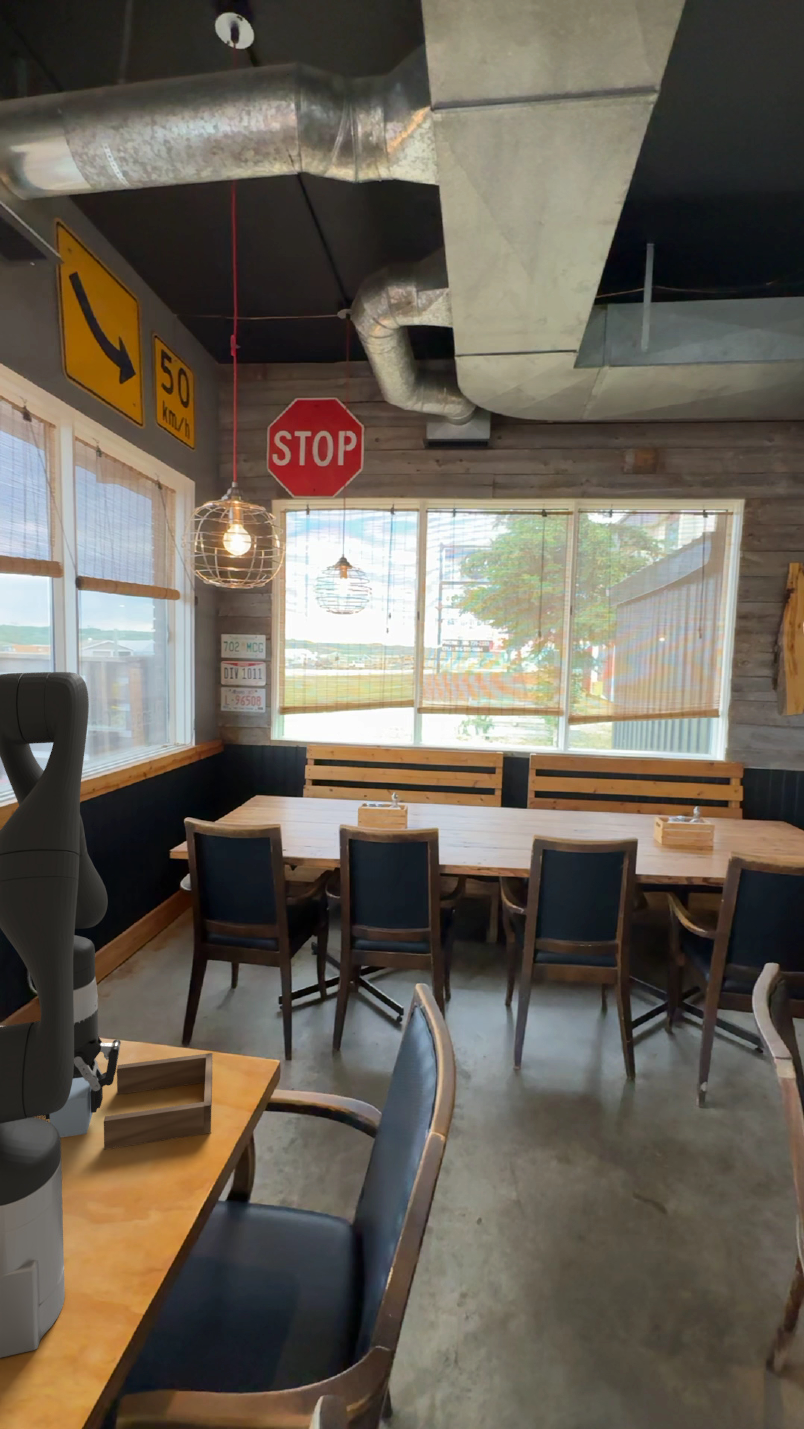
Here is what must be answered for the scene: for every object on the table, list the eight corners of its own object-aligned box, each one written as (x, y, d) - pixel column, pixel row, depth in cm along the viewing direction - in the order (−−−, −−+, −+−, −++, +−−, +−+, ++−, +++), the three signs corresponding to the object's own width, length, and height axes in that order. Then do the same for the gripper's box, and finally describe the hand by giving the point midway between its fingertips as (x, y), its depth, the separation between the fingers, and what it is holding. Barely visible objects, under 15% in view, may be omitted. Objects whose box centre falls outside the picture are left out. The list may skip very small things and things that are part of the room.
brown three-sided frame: (210, 1132, 99) (210, 1105, 99) (104, 1149, 95) (103, 1121, 95) (212, 1077, 112) (212, 1052, 111) (118, 1090, 108) (117, 1065, 107)
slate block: (86, 1134, 98) (86, 1097, 98) (50, 1139, 97) (49, 1102, 96) (93, 1111, 103) (92, 1076, 102) (58, 1116, 102) (57, 1080, 101)
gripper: (8, 1028, 93) (12, 1138, 94) (117, 1016, 96) (119, 1122, 98) (24, 1000, 100) (27, 1102, 102) (125, 990, 103) (126, 1089, 105)
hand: (72, 1111), depth 100 cm, fingers open, 5 cm apart
